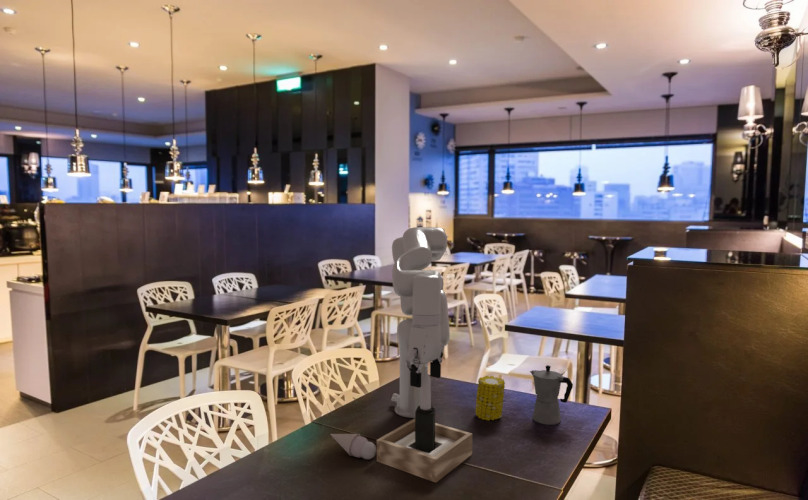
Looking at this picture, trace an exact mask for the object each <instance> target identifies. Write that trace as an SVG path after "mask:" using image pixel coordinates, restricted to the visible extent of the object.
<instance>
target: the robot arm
mask: <svg viewBox="0 0 808 500" xmlns="http://www.w3.org/2000/svg"><path fill="white" fill-rule="evenodd" d="M391 244H392V245H391V253H392V259H393V266H392V271H391V277H392V288H393V290H394V293H395V294H396V295H397V296H398V297H400V298H399V299H400V300H399V301H400V309H401V312H402V313H403V314H404V315H406V316H411V318H408V319H407V318H406V319H403V320H401V321H400V322H398V324H397V327H396V328H397V331H396V334H397V341H398V342H397V343H398V350H399V351H398V352H399V353H398V354H399V393H396V392H395V393H393V394H392V397H391V398H390V400H391V401H392V402H395V403H396V405H395V406H394V412H395V414H396V415H399V416H400V417H404V418H409V419H414V418H415V411H416V409H417V408H418V406H420V387H421V377H422V375H423V372H424V367H425V366H426V367H427V371H428V372H429V377H430V378H432V377H433V378H437V379H440V378H441V377H442V375H441V374H442V371H441V370H442V362H443V360H442V358H443V357H444V351H445V350H444V349H445V347H446V346H447V345H449V342H450V332H451V331H450V319H449V307H448V298H447V295H446V292H445V291H444V277H443V275H442V274H441V273H440V271H437V270H433V269H432V270H431V269H426V268H428V267H429V266H430V265H431V263H432V262H436V261H440V260H441V258H442V257H443V256H444V254H445V253H446V251H447V247H448V236H447V234H446V232H445V230H444V229H443V228H441V227H438V226H437V227H436V226H435V227H434V226H431V227H430V226H426V227H425V226H421V227H420V226H417V227H415V226H414V227H410V228H408V229H406V230H405V231H404V232H403V235H402V236H401V237H397V238H396V239H394V240H393V242H392V243H391ZM429 367H430V368H429ZM391 401H390V402H391Z"/></svg>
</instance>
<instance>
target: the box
mask: <svg viewBox="0 0 808 500" xmlns="http://www.w3.org/2000/svg"><path fill="white" fill-rule="evenodd" d="M472 455H473V433H471V432H468V431H465V430H461V429H459V428H454V427H451V426H447V425H444V424H440V423H437V422H435V450H433V451H432V452H430V453H426V452H423V451H420V450H417V449H415V418H412V419H411V420H409V421H408V422H405V423H404V424H402V425H400V426H399V427H397V428H395V429H393V430H391V431H390V432H389V433H386V434H385V435H382V436H381V437H379V438H377V439H376V462H378V463H381V464H382V465H385V466H389V467H390V468H391V467H392V468H394V469H397V470H400V471H403V472H405V473H407V474H411V475H412V476H413V475H414V476H416V477H418V478H422V479H424V480H427V481H430V482H432V483H438V482H439V481H440V480H442V479H443V478H445V476H446V475H448V474H449V473H451V471H453V470H454V469H456V468H457V467H458V466H460V465H461V464H462V463H463V462H464V461H466V460H467V459H468V458H470V456H472Z"/></svg>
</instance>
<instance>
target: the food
mask: <svg viewBox="0 0 808 500" xmlns="http://www.w3.org/2000/svg"><path fill="white" fill-rule="evenodd" d="M505 384H506V382H505V380H504V379H503V378H501V377H497V376H494V375H485V376H482V377H479V378H478V384H477V388H476V389H477V390H476V398H475V399H476V400H475V411H474V412H475V416H476V417H478V418H479V419H481V420H483V421H484V420H485V421H487V422H488V421H490V420H491V421H494V420H498V419H501V418H502V416H503V415H502V413H503V407H504V396H505V388H506V387H505Z"/></svg>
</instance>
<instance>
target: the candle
mask: <svg viewBox="0 0 808 500" xmlns="http://www.w3.org/2000/svg"><path fill="white" fill-rule="evenodd" d="M431 402H432V377H431V376H430V374H429V370H428V371H427V367H426V366H425V367H424V372H423V375H422V377H421V387H420V406H418V408H417V409H416V411H415V449H417V450H420V451H423V452H426V453H430V452H432V451H433V450H435V423H436V408H435V407H434V406H433V405H431Z"/></svg>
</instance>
